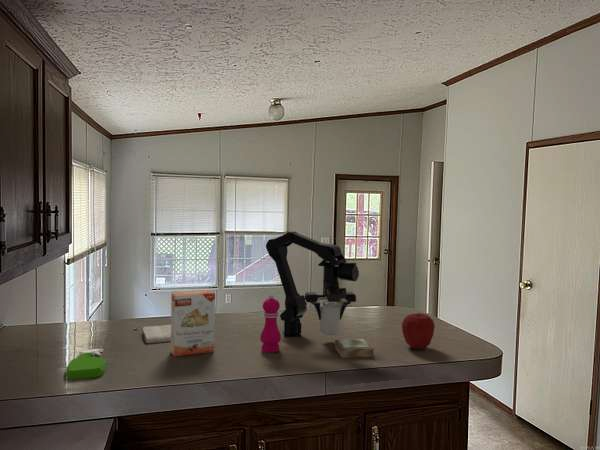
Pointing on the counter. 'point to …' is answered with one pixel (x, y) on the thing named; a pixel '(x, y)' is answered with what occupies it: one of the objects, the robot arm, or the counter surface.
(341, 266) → the robot arm
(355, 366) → the counter surface
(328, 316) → the can
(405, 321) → the apple
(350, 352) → the plinth
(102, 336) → the counter surface
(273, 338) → the pepper mill
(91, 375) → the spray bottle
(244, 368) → the counter surface
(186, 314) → the cracker box
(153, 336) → the washcloth
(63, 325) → the counter surface
